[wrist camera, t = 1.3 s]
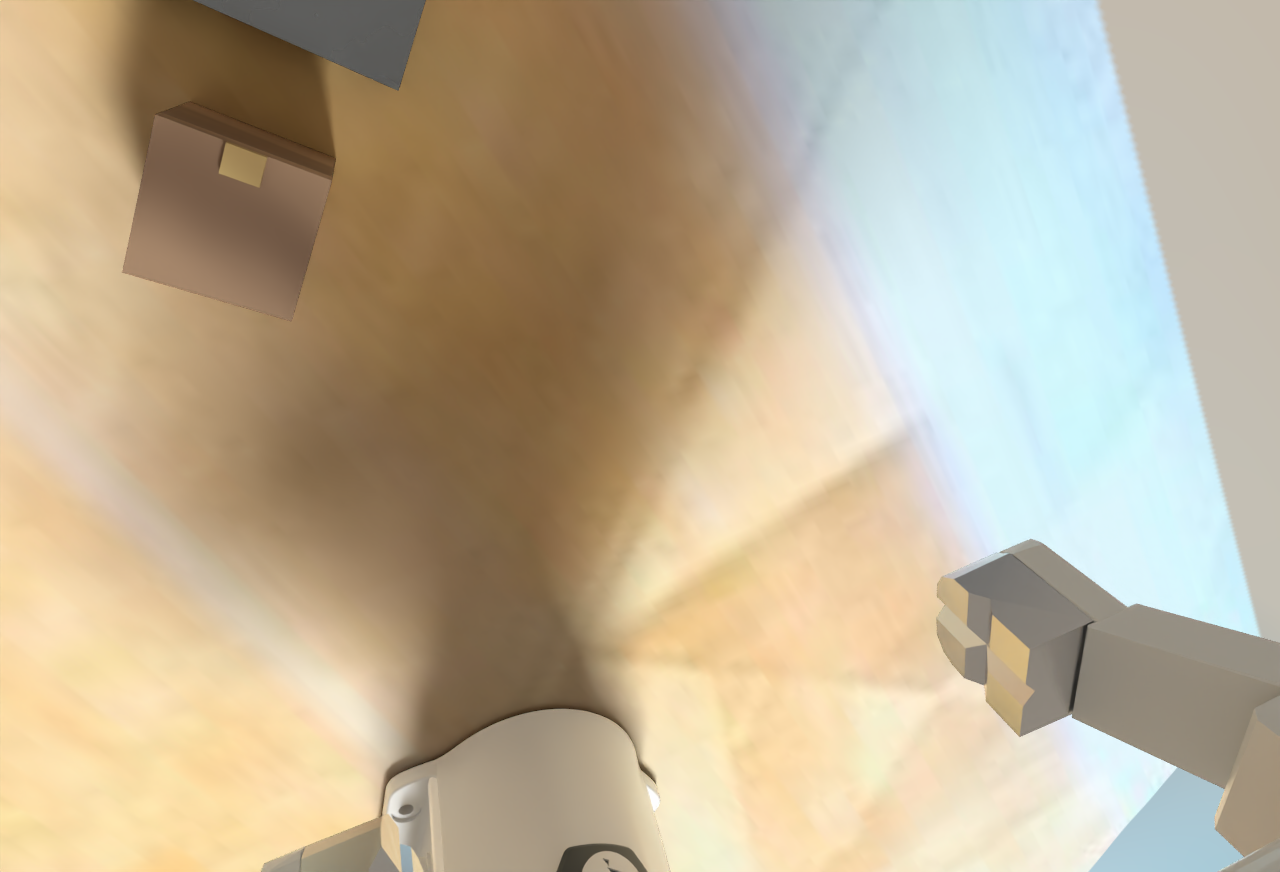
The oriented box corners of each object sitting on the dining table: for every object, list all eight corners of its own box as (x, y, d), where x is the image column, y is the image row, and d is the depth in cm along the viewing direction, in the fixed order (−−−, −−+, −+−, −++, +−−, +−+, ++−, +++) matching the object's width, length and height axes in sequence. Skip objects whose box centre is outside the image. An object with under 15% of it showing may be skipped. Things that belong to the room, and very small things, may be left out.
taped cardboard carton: (301, 278, 32) (291, 324, 27) (160, 234, 30) (119, 274, 25) (335, 158, 31) (332, 181, 25) (189, 101, 28) (153, 115, 23)
